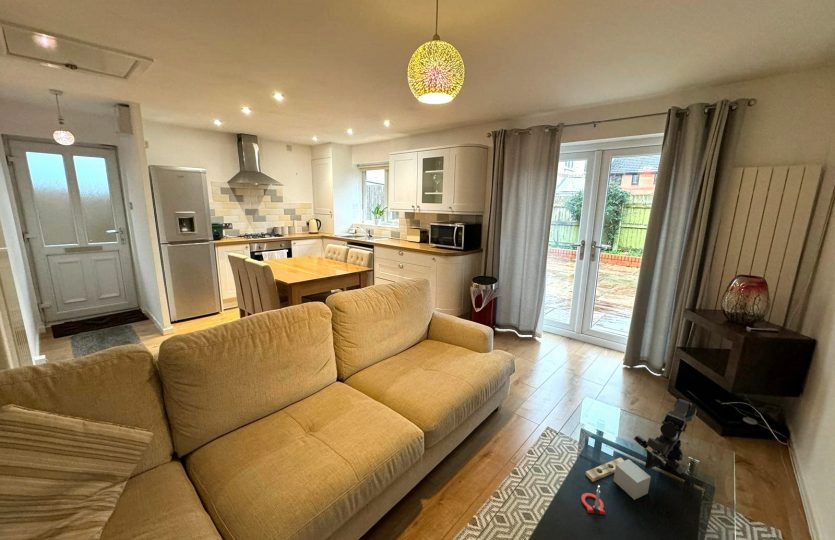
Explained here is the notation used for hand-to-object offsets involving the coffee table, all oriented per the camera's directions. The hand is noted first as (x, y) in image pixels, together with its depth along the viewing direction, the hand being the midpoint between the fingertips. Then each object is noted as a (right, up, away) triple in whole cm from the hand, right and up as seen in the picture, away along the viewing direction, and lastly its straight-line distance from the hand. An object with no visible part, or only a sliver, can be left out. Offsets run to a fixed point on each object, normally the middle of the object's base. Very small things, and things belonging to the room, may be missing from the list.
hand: (646, 468), depth 145 cm
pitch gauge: (-13, -5, +7) cm, 16 cm away
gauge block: (-8, -7, -1) cm, 11 cm away
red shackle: (-28, -10, -8) cm, 31 cm away
